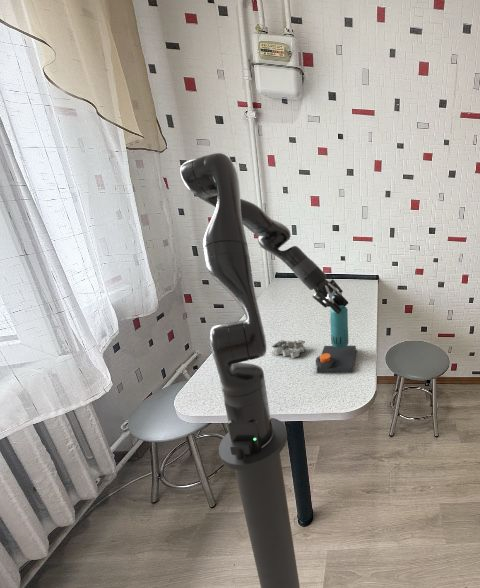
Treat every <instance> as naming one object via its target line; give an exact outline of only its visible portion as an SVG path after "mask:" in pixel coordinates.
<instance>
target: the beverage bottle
mask: <svg viewBox="0 0 480 588" xmlns="http://www.w3.org/2000/svg"><path fill="white" fill-rule="evenodd" d="M343 297H344V296H343ZM343 297H332V299H333V301H334V303H336V304H337V305H338V306H339V307H340V308H341V309H342V311H341V312H340V313H339V314H337V313H336V312H335V311H334V310H333V309H332V308H331V307H330V309H329V314H330V316H329V317H330V319H329V321H330V322H329V324H330V341H331V342H330V343H331V346H333V347H336V348H343V347H346V346H349V315H348V313H349V309H348V308H347V307H346V306H343V305H344V304H345V302H344V298H345V297H344V298H343Z"/></svg>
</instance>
